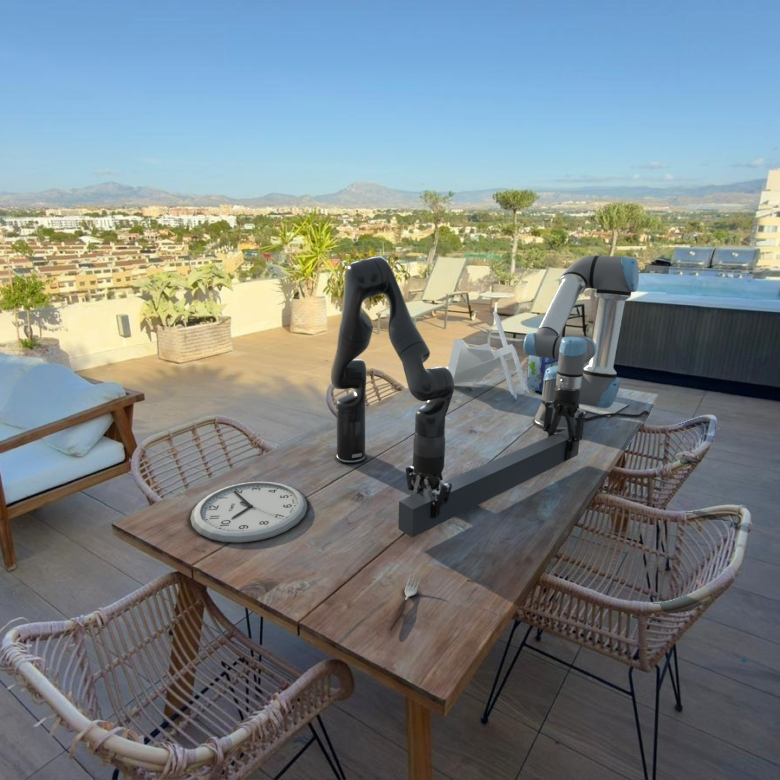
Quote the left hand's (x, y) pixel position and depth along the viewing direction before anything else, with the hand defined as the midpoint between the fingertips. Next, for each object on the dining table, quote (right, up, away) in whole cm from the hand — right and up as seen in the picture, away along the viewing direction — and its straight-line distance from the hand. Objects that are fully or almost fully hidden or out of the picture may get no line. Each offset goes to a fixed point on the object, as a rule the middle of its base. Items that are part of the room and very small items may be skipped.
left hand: (426, 512), depth 130 cm
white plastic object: (+33, +29, +114) cm, 122 cm away
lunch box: (+66, +31, +121) cm, 142 cm away
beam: (+23, +3, +20) cm, 30 cm away
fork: (-6, -13, -24) cm, 28 cm away
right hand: (+46, +9, +39) cm, 61 cm away
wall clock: (-46, -2, +10) cm, 47 cm away
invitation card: (+82, +23, +97) cm, 129 cm away
